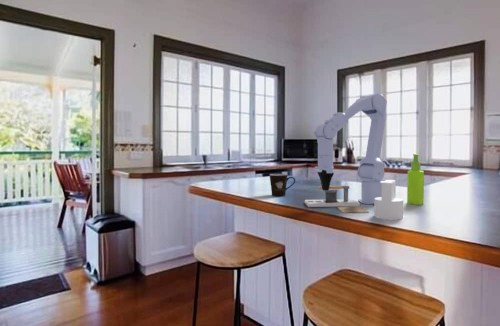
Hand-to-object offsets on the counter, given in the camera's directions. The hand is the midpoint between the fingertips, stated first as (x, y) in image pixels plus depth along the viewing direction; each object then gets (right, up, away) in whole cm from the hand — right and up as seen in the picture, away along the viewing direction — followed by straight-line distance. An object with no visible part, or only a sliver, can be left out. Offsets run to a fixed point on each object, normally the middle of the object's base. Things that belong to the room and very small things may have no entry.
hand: (325, 190), depth 130 cm
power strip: (+4, -6, +6) cm, 10 cm away
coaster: (+9, -7, -6) cm, 12 cm away
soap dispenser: (+38, -6, +6) cm, 39 cm away
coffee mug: (-14, -5, +30) cm, 34 cm away
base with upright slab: (+17, -8, -17) cm, 25 cm away
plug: (+4, -6, +6) cm, 10 cm away
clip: (+5, 0, +6) cm, 7 cm away
